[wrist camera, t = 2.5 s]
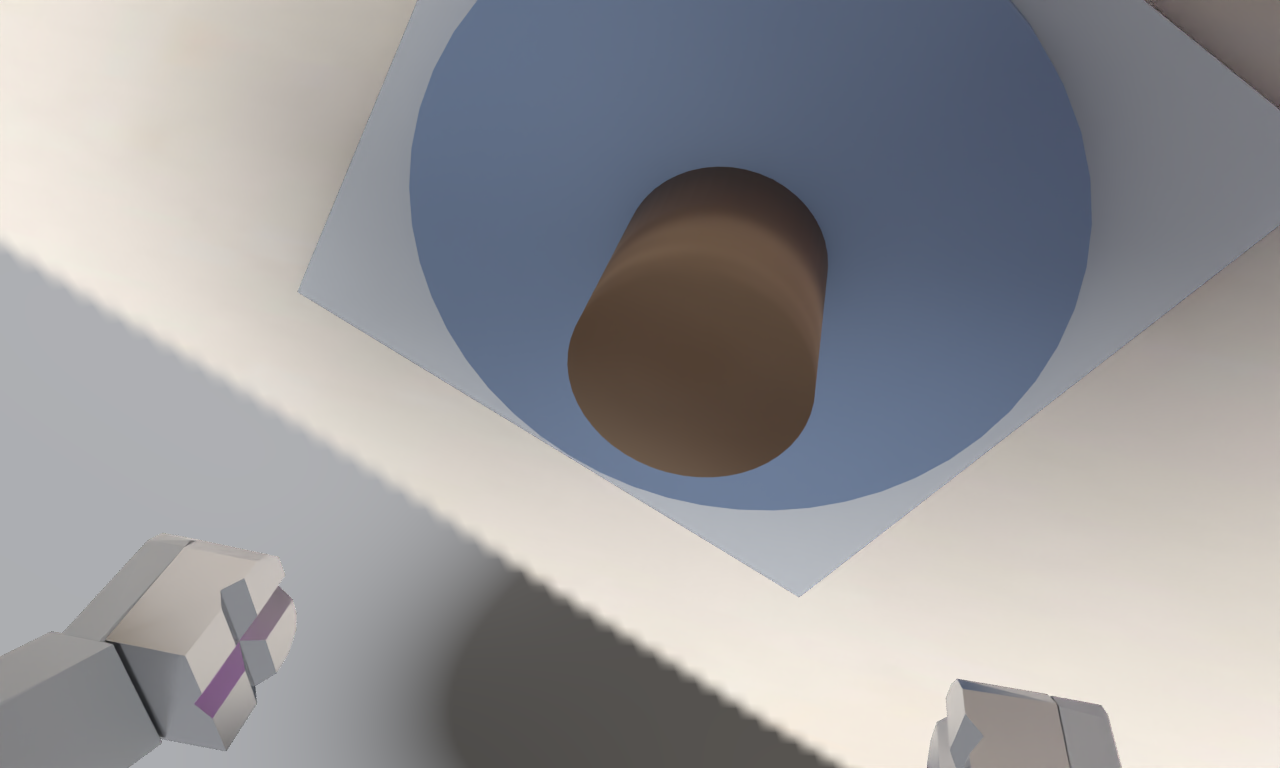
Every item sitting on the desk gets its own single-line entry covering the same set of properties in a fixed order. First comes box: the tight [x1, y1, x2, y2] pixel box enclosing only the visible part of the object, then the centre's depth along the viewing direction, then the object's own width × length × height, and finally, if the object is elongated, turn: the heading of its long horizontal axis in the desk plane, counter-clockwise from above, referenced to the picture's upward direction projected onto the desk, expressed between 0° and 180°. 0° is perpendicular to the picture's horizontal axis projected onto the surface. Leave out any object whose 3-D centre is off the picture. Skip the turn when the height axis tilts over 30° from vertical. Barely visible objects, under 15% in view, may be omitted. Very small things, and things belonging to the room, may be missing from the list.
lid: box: [409, 0, 1092, 511], centre depth 16 cm, size 13×13×5 cm
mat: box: [298, 0, 1280, 597], centre depth 18 cm, size 15×15×1 cm
